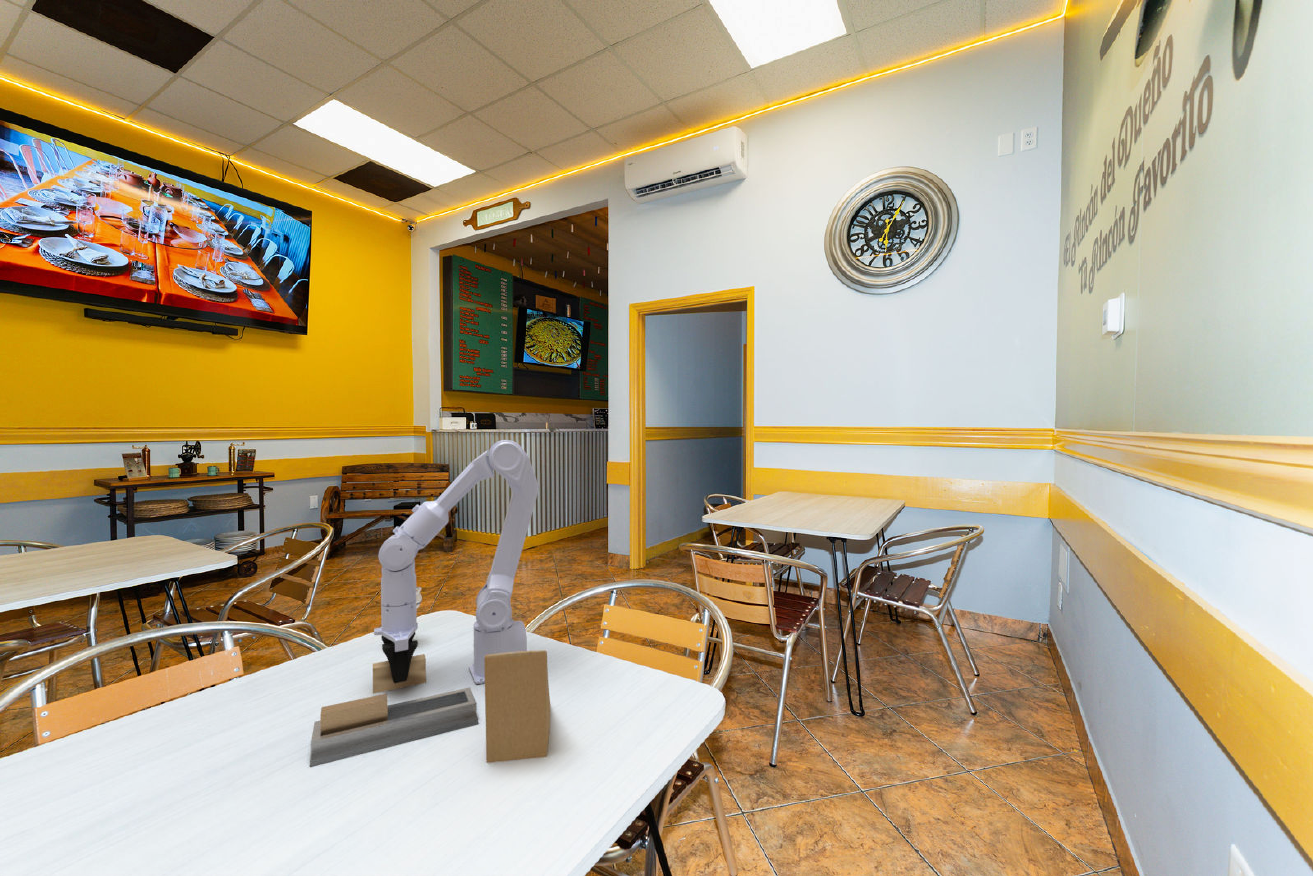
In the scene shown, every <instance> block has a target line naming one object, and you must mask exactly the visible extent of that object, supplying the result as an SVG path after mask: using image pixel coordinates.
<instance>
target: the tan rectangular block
mask: <svg viewBox="0 0 1313 876" xmlns="http://www.w3.org/2000/svg"><path fill="white" fill-rule="evenodd" d="M426 659H427V658H426V655H425V654H424V653H423V654H418V655H413V656H412V659H411V663H410V668H409V674H408V678H407V681H404V682H399V683H394V682H393V679H392V675H391V669H390V664H389V661H388V660H386V661H380V662H374V663H372V694H378V693H382V692H383V693H384V692H386V691H387V692H389V691H392V690H396V689H397V690H398V689H402V688H408V687H411V686H412V687H413V686H415V685H422V684H426V683H427V672H426V671H427V670H426V669H427V664H426V663H427V660H426Z"/></svg>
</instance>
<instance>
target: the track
mask: <svg viewBox="0 0 1313 876" xmlns="http://www.w3.org/2000/svg"><path fill="white" fill-rule="evenodd" d="M477 707H478V706H477V700H476V698H475V696H474V694H473V691H472V689H471V687H466V688H461V689H456V690H453V691H452V690H451V691H447V692H443V693H439V694H435V695H434V694H433V695H429V696H425V697H424V696H423V697H420V698H416V699H411V700H406V701H402V702H397V703H393V704H389V705H388V693H382V694H378V695H372V696H368V697H364V698H360V699H359V698H358V699H354V700H349V701H345V702H338V703H336V704H330V705H326V706H322V707H321V709H320V720H316V721H314V724H313V728H312V735H311V741H310V754H311V755H310V761H309V767H313V766H319V765H322V764H325V763H330V762H334V761H337V760H338V761H339V760H341V759H345V758H349V757H354V756H357V755H361V754H364V753H365V754H366V753H368V752H373V751H377V750H380V749H385V748H388V747H392V746H396V745H400V744H406V743H408V742H412V741H417V740H421V739H424V738H429V737H432V736H436V735H439V734H443V733H448V732H451V731H455V730H460V729H463V728H467V727H470V726H475V725H479V717H478V714H477V713H478V712H477Z"/></svg>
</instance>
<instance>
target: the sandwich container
mask: <svg viewBox="0 0 1313 876" xmlns="http://www.w3.org/2000/svg"><path fill="white" fill-rule="evenodd" d="M484 671H485V682H484V707H485V709H484V711H485V712H484V713H485V746H486V747H485V754H486V756H485V757H486V759H485V760H486V762H485V763H488V764H490V763H496V762H497V763H498V762H509V761H518V760H526V759H527V760H528V759H529V760H530V759H536V758H537V759H539V758H545V757H547V756H548V749H549V740H550V727H551V725H550V724H551V720H550V719H551V698H550V688H549V687H550V685H549V675H548V674H549V672H548V671H549V669H548V651H547V650H544V649H543V650H542V649H541V650H540V649H539V650H527V651H516V652H507V653H498V654H489V655H485V658H484Z"/></svg>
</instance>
